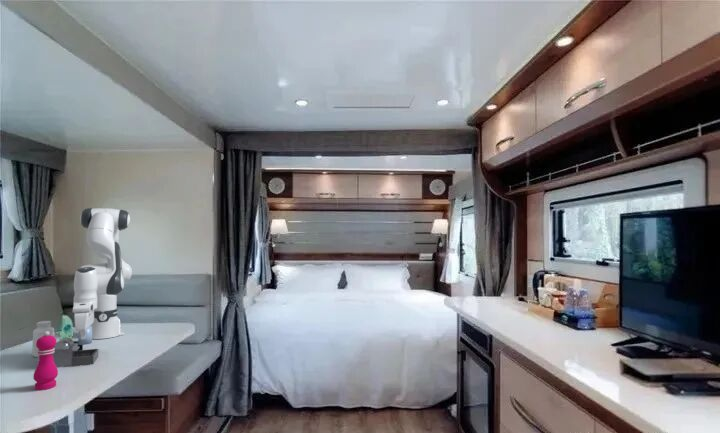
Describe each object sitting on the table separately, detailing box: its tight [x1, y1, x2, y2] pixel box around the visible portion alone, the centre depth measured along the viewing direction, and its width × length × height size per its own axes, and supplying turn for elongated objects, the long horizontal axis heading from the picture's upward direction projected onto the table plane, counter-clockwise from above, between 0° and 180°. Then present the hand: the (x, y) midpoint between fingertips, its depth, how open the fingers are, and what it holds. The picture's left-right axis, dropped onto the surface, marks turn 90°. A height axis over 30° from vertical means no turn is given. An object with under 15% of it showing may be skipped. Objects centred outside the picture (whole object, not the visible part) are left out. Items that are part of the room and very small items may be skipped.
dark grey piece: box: [53, 337, 99, 368], centre depth 187 cm, size 13×16×10 cm
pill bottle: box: [31, 320, 55, 358], centre depth 199 cm, size 8×8×15 cm
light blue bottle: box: [77, 326, 93, 346], centre depth 189 cm, size 5×5×9 cm
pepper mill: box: [32, 331, 59, 391], centre depth 158 cm, size 7×7×20 cm
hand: (85, 337), depth 189 cm, fingers closed on light blue bottle, 5 cm apart
